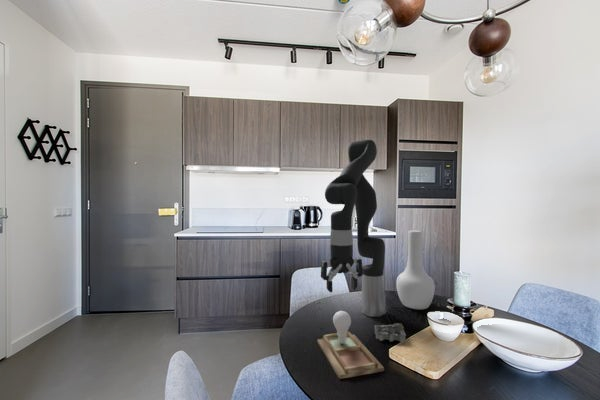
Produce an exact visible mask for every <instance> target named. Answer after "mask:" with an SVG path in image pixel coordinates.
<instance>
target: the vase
mask: <svg viewBox="0 0 600 400" xmlns="http://www.w3.org/2000/svg"><path fill="white" fill-rule="evenodd" d="M407 233H408V234H407V237H408V240H407V241H408V242H407V243H408V245H407V246H408V250H407V251H408V252H407V261H406V262H407V263H406V267H405V269H404V270H403V271H402V272H401V273H400V274H398V276H397V278H396V291H397V292H396V293H397V295H398V299H399V300H400V302H401V304H402V305H403V306H405V307H407V308H409V309H413V310H425V309H426V310H427V309H428V308H429V307H430V306H431V304H432V301H433V299H434V297H435V296H434V295H435V291H436V290H435V288H436V285H435V282H434V280H433V278H432V277H431V276H430V275H428V274H427V272H426V270H425V268H424V261H423V231H422V230H414V229H412V230H411V229H409V230H408V232H407Z"/></svg>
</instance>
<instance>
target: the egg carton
mask: <svg viewBox="0 0 600 400" xmlns="http://www.w3.org/2000/svg"><path fill="white" fill-rule="evenodd" d="M373 327H374V334H375V339H376V340H379V341H381V342H383V341H384V340H386V341H387V340H388V341H389V342H393V341H398V342H399V343H403V342H405V341H406V336H407V334H406V332H405V330H404V329H405V328H404V326H403V323H397V322H395V323H393V324H388V325H387V324H381V325H378V324H377V325H376V324H375V325H374V326H373ZM404 340H405V341H404ZM402 341H403V342H402Z"/></svg>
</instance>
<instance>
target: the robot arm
mask: <svg viewBox="0 0 600 400" xmlns="http://www.w3.org/2000/svg"><path fill="white" fill-rule="evenodd" d="M376 144H377V143H375V141H374V140H373V139H364V140H363V139H362V140H359V141H358V140H357V141H352V142H350V143H348V147H347V148H348V149H347V152H348V154H347V155H348V160H349V161H348V162H349V163H348V164H347V165H345V167H344V168H343V170H342V171H341V173H340V175H339V176H337V177H336V178H335V179H333V180H332V181H331V182H329V184H328V185H327V186H326V188H325V190H324V197H325V200H326V201H327V203H328V204H330V205H343V208H342V209H341V210H338V211H334V212H332V213H331V214H330V235H329V239H330V248H329V249H330V253H329V254H330V259H329V260H321V264H320V265H321V267H320V277H321V279H322V280H323V281H326V290H327V291H328V292H329V293H333V281H332V280H333V279H334V277H335V276H337V274H342V273H343V274H347V273H349V275H350V276H351V278H350V279H351V281H350V284H351V285H350V286H351V289H352V290H354V291H355V290H357V288H358V278H359V277H360V278H361V313H362V314H363V315H364V316H367V317H371V318H378V317H380V318H381V317H382V316H384V315H386V292H385V291H384V269H385V261H386V260H385V257H386V256H385V255H386V245H385V244H386V243H385V240H384V239H382V238H381V237H373V236H372V237H371V236H370V235H369V226H370V223H371V222H372V220H373V218H374V215H375V214H376V212H377V208H378V203H377V194H376V190H375V189H374V187H373V186H372V184H370V182H369V181H368V179H366V176H365V175H364V173H365V172H366V170H367V169H368V168H369V167H371V165H372V163H373V162H374V161H375V160H376V157H377V154H378V153H377V152H378V150H377V145H376ZM354 209H355V215H356V230H357V231H356V233H357V239H356V240H357V245H356V246H357V252H358V255H359V256H361V257H362V258H367V259H372V262H371V263H369V264H366V265H363V262H362V260H363V259H361V258H359V257H356V258H354V236H353V235H354V234H353V222H352V221H353V218H352V217H353V212H354ZM353 265H355V269H353V268H352V267H353ZM329 266H331V268H329ZM328 268H329V270H328Z"/></svg>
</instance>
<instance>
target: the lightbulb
mask: <svg viewBox="0 0 600 400" xmlns="http://www.w3.org/2000/svg"><path fill="white" fill-rule="evenodd" d="M332 323H333V325H334V327H335V329H336V333H337V335H338V342H339V343H341V344H344V343H345V342H346V336H347V332H349V331H348V330H349V328H350V327H351V325H352V318H351V316H350V314H349V313H348V312H347V311H344V310H338V311H336V312H335V314H334V315H333V317H332Z"/></svg>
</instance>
